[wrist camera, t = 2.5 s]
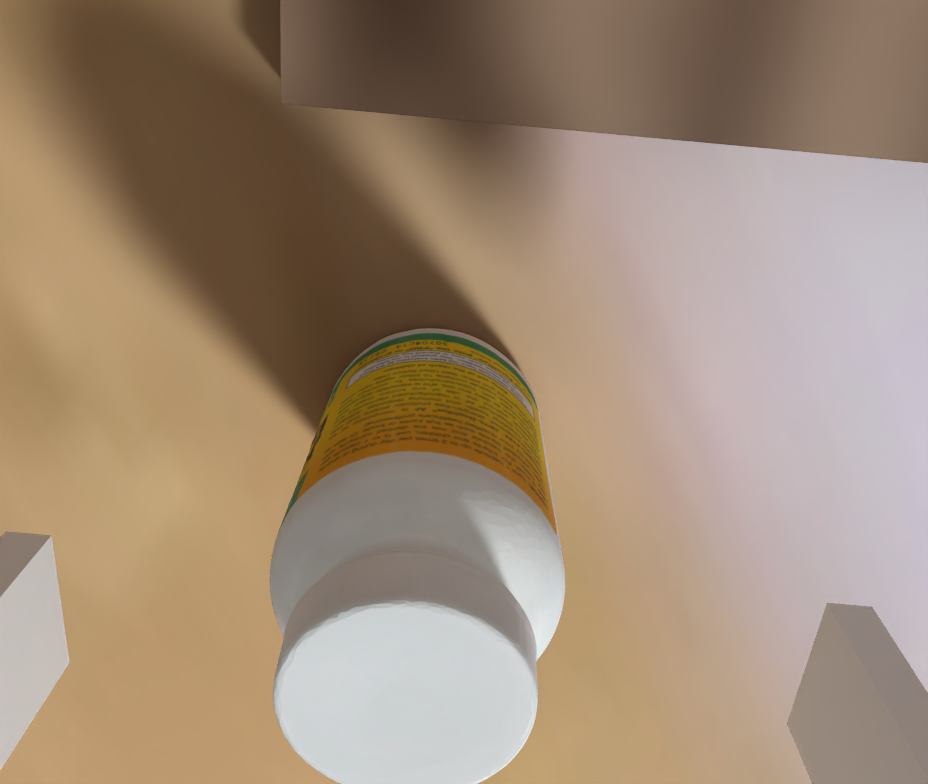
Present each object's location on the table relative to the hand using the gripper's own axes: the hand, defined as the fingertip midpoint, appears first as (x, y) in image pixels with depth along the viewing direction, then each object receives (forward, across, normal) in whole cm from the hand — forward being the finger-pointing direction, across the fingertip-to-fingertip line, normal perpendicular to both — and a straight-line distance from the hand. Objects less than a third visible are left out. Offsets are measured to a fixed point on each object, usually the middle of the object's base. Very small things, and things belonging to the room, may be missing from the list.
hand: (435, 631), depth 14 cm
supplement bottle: (+8, 0, 0) cm, 8 cm away
